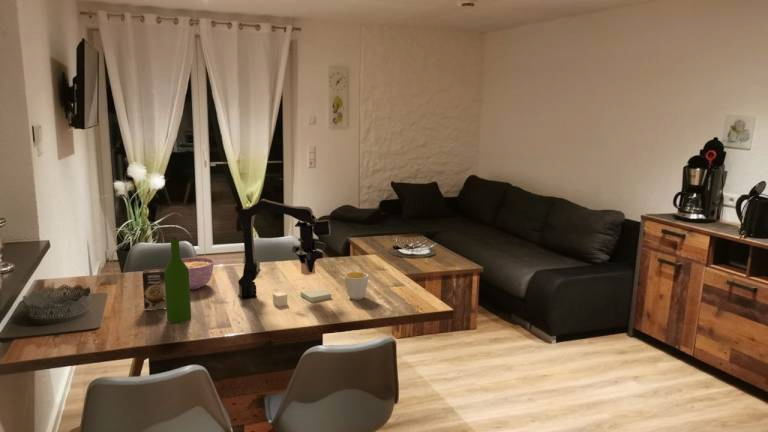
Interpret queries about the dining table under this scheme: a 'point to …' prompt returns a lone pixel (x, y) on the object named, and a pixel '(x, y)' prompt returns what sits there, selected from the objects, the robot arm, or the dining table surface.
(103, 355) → the dining table surface
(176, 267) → the wine bottle
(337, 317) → the dining table surface
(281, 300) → the brick cream
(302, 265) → the orange brown cube
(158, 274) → the coffee box
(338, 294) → the dining table surface
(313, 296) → the base plate
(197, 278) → the bowl of food
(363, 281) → the mug
